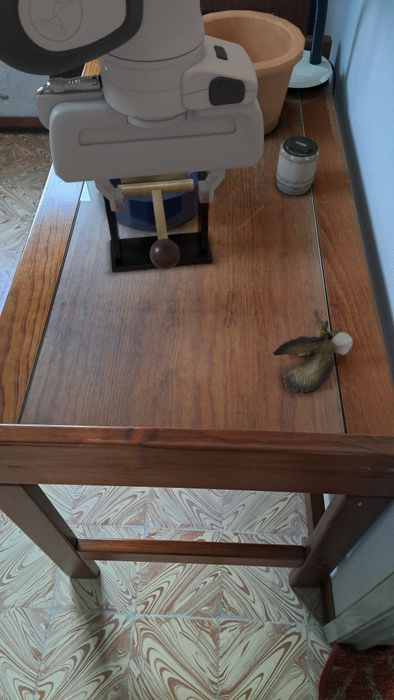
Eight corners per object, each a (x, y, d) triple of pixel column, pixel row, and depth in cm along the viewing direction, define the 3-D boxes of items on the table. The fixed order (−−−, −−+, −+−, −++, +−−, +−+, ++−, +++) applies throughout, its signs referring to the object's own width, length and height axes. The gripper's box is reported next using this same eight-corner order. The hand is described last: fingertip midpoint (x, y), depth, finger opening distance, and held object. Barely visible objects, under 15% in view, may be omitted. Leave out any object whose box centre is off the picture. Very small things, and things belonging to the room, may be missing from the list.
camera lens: (284, 169, 89) (291, 128, 83) (317, 181, 87) (327, 139, 81) (268, 189, 86) (274, 147, 80) (302, 201, 84) (311, 160, 78)
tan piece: (125, 279, 60) (121, 257, 57) (116, 154, 75) (113, 131, 72) (208, 271, 61) (209, 249, 58) (183, 149, 76) (183, 126, 73)
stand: (112, 272, 75) (97, 198, 64) (110, 244, 78) (96, 169, 67) (212, 263, 76) (215, 188, 65) (206, 235, 80) (208, 160, 69)
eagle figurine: (293, 319, 69) (257, 354, 63) (332, 300, 63) (296, 336, 58) (325, 364, 69) (292, 402, 64) (366, 349, 64) (334, 390, 58)
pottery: (297, 150, 93) (312, 69, 81) (177, 148, 93) (174, 67, 81) (287, 88, 105) (299, 10, 93) (181, 86, 105) (180, 8, 93)
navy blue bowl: (103, 236, 79) (97, 205, 75) (100, 169, 89) (95, 138, 84) (211, 227, 81) (212, 196, 76) (197, 161, 91) (197, 130, 86)
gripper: (26, 100, 41) (64, 232, 52) (276, 82, 42) (260, 214, 53) (30, 62, 44) (64, 193, 55) (261, 46, 46) (248, 176, 57)
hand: (162, 203), depth 54 cm, fingers open, 8 cm apart
